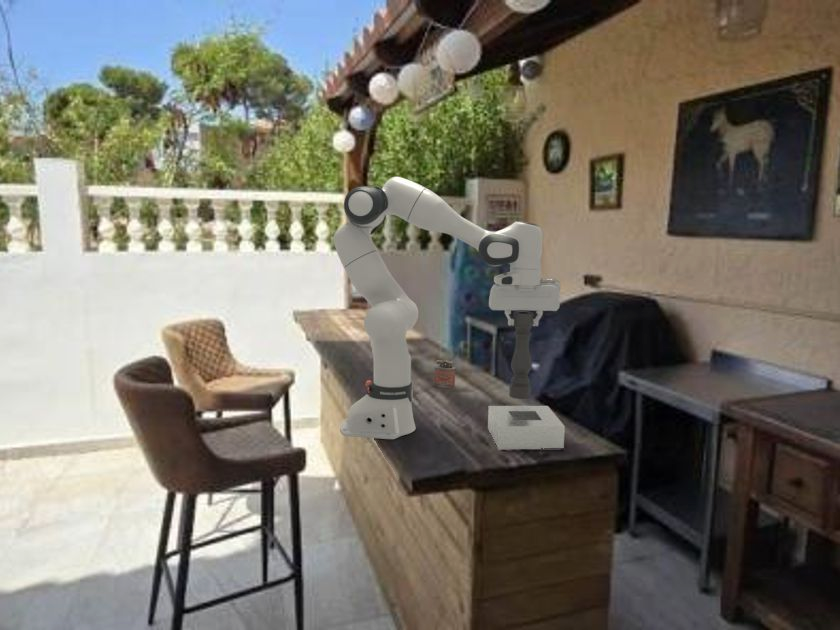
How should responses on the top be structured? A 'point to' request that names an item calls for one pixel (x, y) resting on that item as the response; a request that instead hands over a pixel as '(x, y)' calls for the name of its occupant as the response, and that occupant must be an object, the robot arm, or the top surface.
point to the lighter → (444, 374)
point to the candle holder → (521, 356)
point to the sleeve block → (525, 427)
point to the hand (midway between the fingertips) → (523, 325)
